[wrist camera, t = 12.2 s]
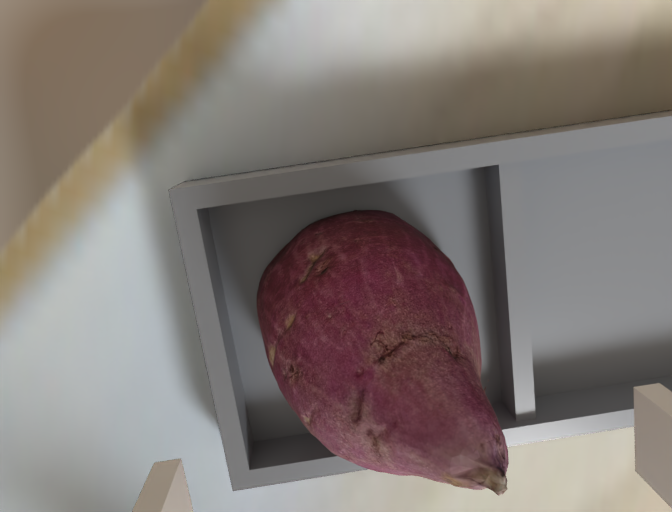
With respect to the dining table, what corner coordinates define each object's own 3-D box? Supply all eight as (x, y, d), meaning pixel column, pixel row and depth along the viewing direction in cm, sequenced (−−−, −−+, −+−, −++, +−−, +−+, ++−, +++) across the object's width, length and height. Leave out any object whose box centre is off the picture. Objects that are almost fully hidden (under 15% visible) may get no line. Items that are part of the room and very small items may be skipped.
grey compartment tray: (765, 366, 32) (821, 396, 28) (240, 450, 31) (232, 491, 27) (779, 94, 28) (845, 90, 25) (184, 181, 27) (168, 189, 24)
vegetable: (459, 240, 31) (722, 320, 17) (394, 411, 32) (596, 620, 18) (287, 174, 27) (448, 211, 13) (217, 371, 28) (301, 602, 14)
